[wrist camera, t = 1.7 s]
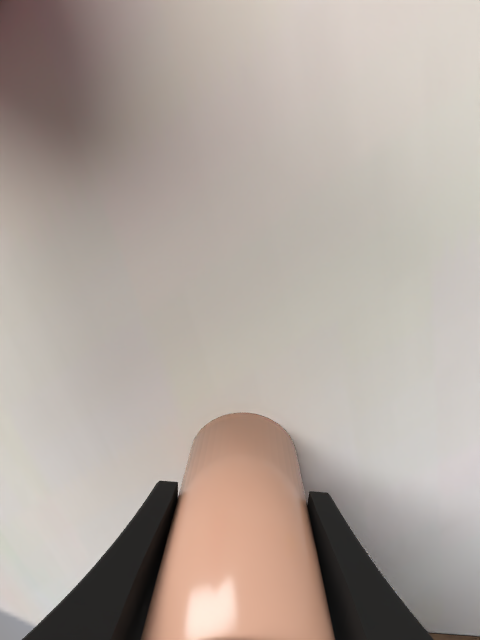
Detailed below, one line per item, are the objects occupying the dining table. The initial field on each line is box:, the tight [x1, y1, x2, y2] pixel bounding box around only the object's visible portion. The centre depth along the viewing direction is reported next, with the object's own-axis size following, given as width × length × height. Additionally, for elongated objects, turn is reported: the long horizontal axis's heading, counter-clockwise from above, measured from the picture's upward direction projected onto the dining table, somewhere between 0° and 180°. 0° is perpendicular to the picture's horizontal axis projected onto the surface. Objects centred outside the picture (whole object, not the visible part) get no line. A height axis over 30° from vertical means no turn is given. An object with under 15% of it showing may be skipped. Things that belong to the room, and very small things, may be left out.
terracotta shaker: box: [141, 413, 335, 640], centre depth 9 cm, size 5×5×8 cm
